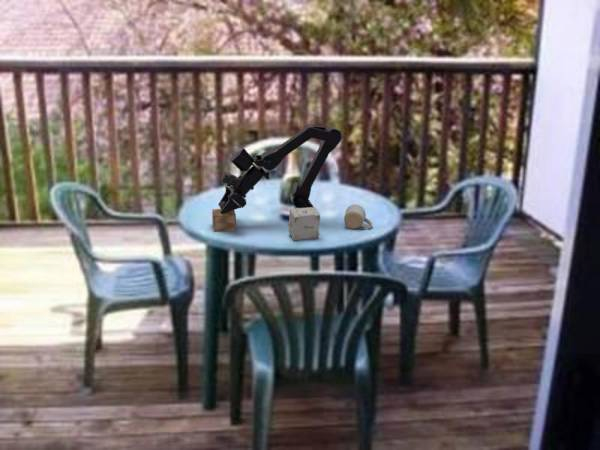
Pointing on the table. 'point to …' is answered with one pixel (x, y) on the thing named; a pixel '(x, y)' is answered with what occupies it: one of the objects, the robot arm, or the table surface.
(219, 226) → the wooden box
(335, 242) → the table surface
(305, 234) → the beige cardboard box
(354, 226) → the ceramic mug
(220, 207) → the black ball knob
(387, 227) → the table surface
